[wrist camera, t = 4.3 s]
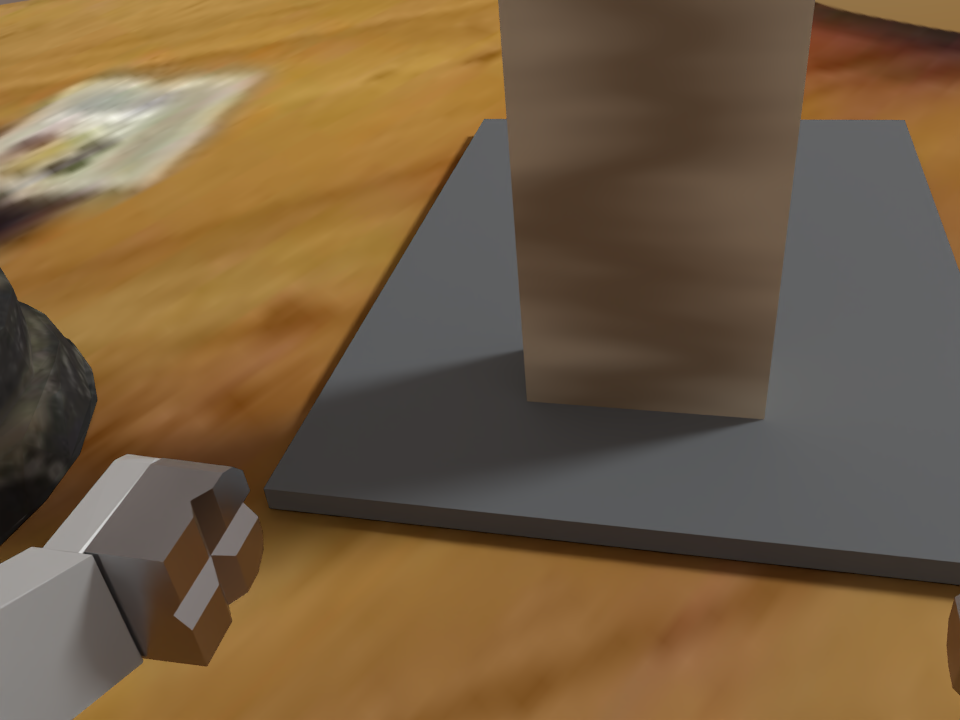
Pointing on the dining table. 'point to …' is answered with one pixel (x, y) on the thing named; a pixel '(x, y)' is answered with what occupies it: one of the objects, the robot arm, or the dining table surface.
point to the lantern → (37, 408)
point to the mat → (667, 435)
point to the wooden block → (652, 195)
